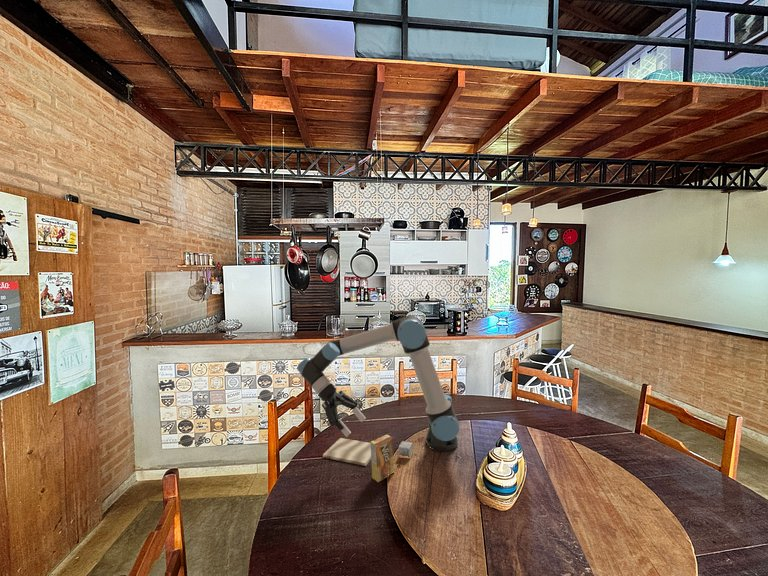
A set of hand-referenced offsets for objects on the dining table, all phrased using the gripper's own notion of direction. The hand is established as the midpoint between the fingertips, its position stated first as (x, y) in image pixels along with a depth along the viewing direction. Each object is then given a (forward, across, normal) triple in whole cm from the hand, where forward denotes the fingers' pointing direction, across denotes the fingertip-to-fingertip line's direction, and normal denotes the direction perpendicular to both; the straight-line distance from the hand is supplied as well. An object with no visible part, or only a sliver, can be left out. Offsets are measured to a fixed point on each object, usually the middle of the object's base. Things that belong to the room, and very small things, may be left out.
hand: (356, 427), depth 136 cm
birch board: (+7, -12, -20) cm, 25 cm away
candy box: (+21, 0, -6) cm, 22 cm away
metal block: (+24, -17, -2) cm, 30 cm away
